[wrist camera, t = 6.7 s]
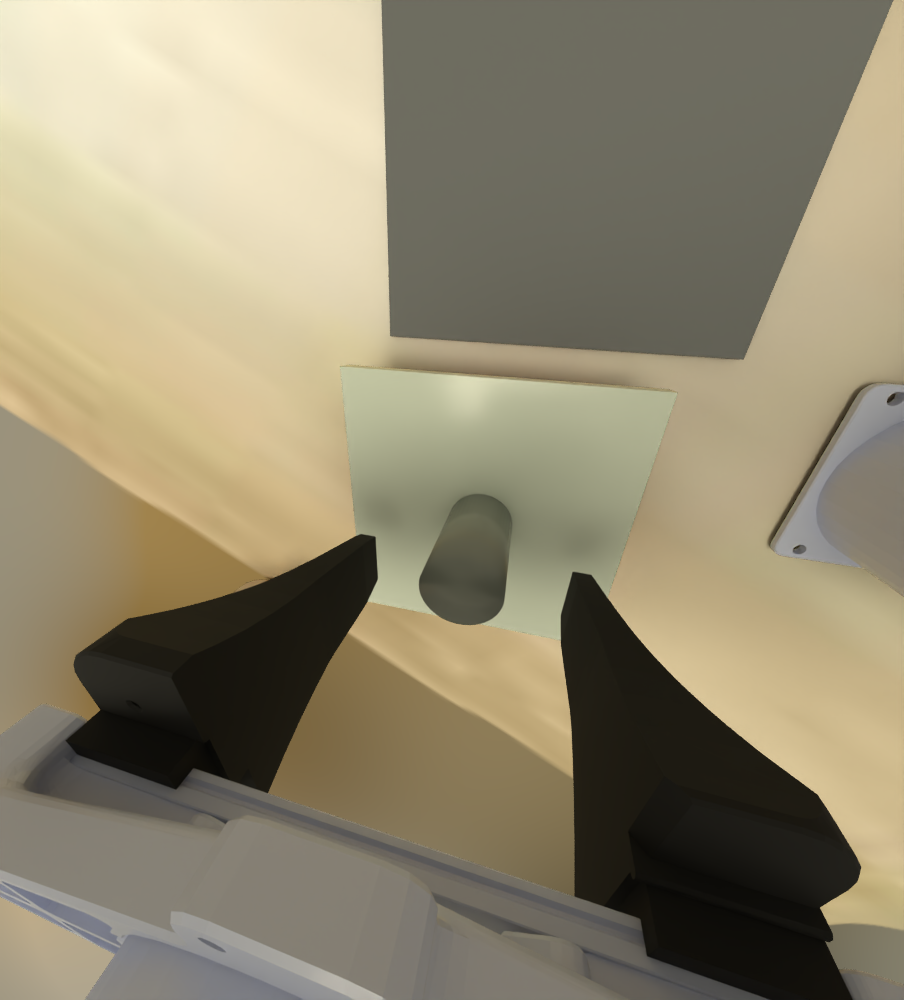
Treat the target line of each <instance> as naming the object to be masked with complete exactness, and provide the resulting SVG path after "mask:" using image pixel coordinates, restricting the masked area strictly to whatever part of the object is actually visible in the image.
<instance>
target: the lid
mask: <svg viewBox="0 0 904 1000" xmlns="http://www.w3.org/2000/svg"><path fill="white" fill-rule="evenodd" d="M340 371H341V382H342V392H343V402H344V413H345V423H346V434H347V444H348V454H349V465H350V475H351V486H352V496H353V507H354V517H355V527H356V536H357V535H359V534H364V535H370V536H375V537H376V553H377V570H378V580H377V583H376V585H375V587H374V589H373V591H372V593H371V595H370V598H369V600H368V602H373V603H378V604H383V605H388V606H393V607H398V608H403V609H408V610H413V611H418V612H423V613H428V614H432V615H437V616H439V617H441V618H443V619H445V620H447V621H450V622H453V623H456V624H462V625H476V624H482V625H487V626H491V627H496V628H501V629H506V630H511V631H516V632H521V633H526V634H531V635H536V636H541V637H546V638H551V639H555V640H560V641H561V612H562V608H563V605H564V601H565V598H566V594H567V590H568V587H569V583H570V579H571V576H572V572H579V573H585V574H590V575H592V576H593V578H594V579H595V580H596V582H597V583H598V585H599V586H600V588H601V589H602V591H603V592H604V593H605V595H606V596H607V598H608V595H609V592H610V589H611V586H612V583H613V580H614V577H615V575H616V572H617V569H618V566H619V563H620V560H621V557H622V554H623V551H624V548H625V545H626V542H627V540H628V537H629V534H630V531H631V528H632V525H633V522H634V519H635V516H636V513H637V510H638V508H639V505H640V502H641V499H642V496H643V493H644V490H645V487H646V484H647V481H648V478H649V475H650V473H651V470H652V467H653V464H654V461H655V458H656V455H657V452H658V449H659V446H660V443H661V440H662V438H663V435H664V432H665V429H666V426H667V423H668V420H669V417H670V414H671V411H672V408H673V406H674V403H675V400H676V397H677V394H678V393H677V392H675V391H672V390H670V389H659V388H646V387H633V386H620V385H607V384H594V383H581V382H568V381H555V380H542V379H529V378H516V377H503V376H490V375H477V374H464V373H451V372H438V371H425V370H412V369H399V368H386V367H372V366H359V365H346V366H340Z"/></svg>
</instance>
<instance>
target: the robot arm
mask: <svg viewBox="0 0 904 1000" xmlns="http://www.w3.org/2000/svg"><path fill="white" fill-rule="evenodd" d="M894 393H895V394H896V395H895V398H894V399H893V400H892V401H891V402H889V403H887V399H888V397H889V396H890V395H892V394H894ZM798 545H800V547H799V548H797V549H794V550H793V548H794V547H795V546H798ZM770 547H771V549H772V550H773V551H774V552H775V553H776V554H778V555H781V556H786V557H793V558H800V559H806V560H813V561H819V562H826V563H833V564H839V565H846V566H852V567H859V568H864V569H865V570H867V571H868V572H870V573H871V574H872V575H874V576H875V577H877V578H878V579H879V580H881V581H882V582H884V583H885V584H886V585H888V586H889V587H891V588H892V589H894V590H895V591H896V592H898V593H899V594H901V595H902V596H903V597H904V385H902V384H888V383H875V384H872V385H869V386H867V387H865V388H864V389H863V390H861V391H860V393H859V394H858V395H857V397H856V398H855V400H854V402H853V404H852V405H851V407H850V409H849V410H848V412H847V414H846V416H845V417H844V419H843V421H842V422H841V424H840V426H839V427H838V429H837V431H836V433H835V434H834V436H833V438H832V439H831V441H830V443H829V444H828V446H827V448H826V450H825V451H824V453H823V455H822V456H821V458H820V460H819V462H818V463H817V465H816V467H815V468H814V470H813V472H812V473H811V475H810V477H809V479H808V480H807V482H806V484H805V485H804V487H803V489H802V491H801V492H800V494H799V496H798V497H797V499H796V501H795V502H794V504H793V506H792V508H791V509H790V511H789V513H788V514H787V516H786V518H785V520H784V521H783V523H782V525H781V526H780V528H779V530H778V531H777V533H776V535H775V537H774V538H773V540H772V542H771V545H770ZM377 580H378V570H377V553H376V537H375V536H370V535H364V534H359V535H357V536H355V537H353V538H351V539H350V540H348V541H346V542H344V543H342V544H340V545H339V546H337V547H335V548H333V549H331V550H330V551H328V552H326V553H324V554H322V555H320V556H318V557H317V558H315V559H313V560H311V561H309V562H307V563H305V564H303V565H301V566H299V567H297V568H295V569H293V570H291V571H288V572H286V573H284V574H282V575H280V576H277V577H275V578H273V579H270V580H268V581H265V582H263V583H260V584H258V585H255V586H252V587H249V588H246V589H243V590H240V591H237V592H234V593H231V594H228V595H225V596H223V597H219V598H216V599H213V600H209V601H206V602H202V603H198V604H194V605H190V606H186V607H182V608H178V609H174V610H169V611H165V612H159V613H154V614H150V615H145V616H140V617H135V618H129V619H127V620H125V621H124V622H122V623H121V624H119V625H118V626H117V627H115V628H114V629H112V630H111V631H110V632H108V633H107V634H105V635H104V636H102V637H101V638H100V639H98V640H97V641H95V642H94V643H93V644H91V645H90V646H88V647H87V648H85V649H84V650H83V651H81V652H80V653H79V654H77V655H76V657H75V661H74V668H75V673H76V674H77V676H78V678H79V680H80V681H81V683H82V684H83V686H84V687H85V688H86V690H87V691H88V693H89V694H90V695H91V697H92V698H93V699H94V701H95V703H96V704H97V705H98V707H99V708H100V711H99V712H98V713H97V714H96V715H95V716H93V717H92V718H91V719H90V720H89V721H87V720H86V719H84V718H83V717H82V716H80V715H78V714H76V713H73V712H70V711H67V710H64V709H61V708H58V707H55V706H52V705H48V704H42V705H39V706H38V707H37V708H35V709H34V710H33V711H31V712H30V713H29V714H28V715H26V716H25V717H24V718H22V719H21V720H19V721H18V722H17V723H15V724H14V725H13V726H11V727H10V728H9V729H7V730H6V731H5V732H3V733H2V734H1V735H0V897H1V898H3V899H6V900H8V901H10V902H12V903H14V904H16V905H18V906H20V907H22V908H24V909H26V910H28V911H30V912H32V913H34V914H36V915H38V916H40V917H42V918H44V919H46V920H48V921H50V922H52V923H54V924H56V925H58V926H60V927H62V928H64V929H66V930H68V931H70V932H72V933H74V934H76V935H78V936H80V937H82V938H84V939H86V940H88V941H90V942H92V943H94V944H96V945H98V946H100V947H102V948H104V949H106V950H108V951H109V952H111V953H113V954H115V956H114V957H113V959H112V960H111V962H110V963H109V965H108V966H107V968H106V969H105V971H104V972H103V973H102V975H101V976H100V978H99V979H98V981H97V982H96V984H95V985H94V987H93V988H92V990H91V991H90V993H89V994H88V996H87V997H86V999H85V1000H904V984H901V983H898V982H895V981H892V980H889V979H886V978H883V977H880V976H877V975H874V974H870V973H867V972H862V971H859V970H852V969H839V970H838V968H837V965H836V963H835V961H834V959H833V957H832V955H831V953H830V951H829V949H828V947H827V945H826V942H830V941H832V940H833V934H832V931H831V929H830V927H829V925H828V923H827V921H826V919H825V917H824V915H823V913H822V911H821V909H820V907H821V906H823V905H824V904H826V903H828V902H829V901H831V900H833V899H834V898H836V897H838V896H839V895H841V894H843V893H844V892H846V891H848V890H849V889H850V888H851V887H852V886H853V885H854V884H856V883H857V881H858V878H859V875H860V870H861V866H860V864H859V861H858V859H857V857H856V855H855V854H854V852H853V850H852V849H851V847H850V845H849V844H848V842H847V840H846V839H845V837H844V835H843V834H842V832H841V831H840V829H839V827H838V826H837V824H836V822H835V821H834V819H833V818H832V816H831V814H830V813H829V811H828V810H827V808H826V807H825V805H824V804H823V802H822V801H821V799H820V798H819V796H818V795H817V794H816V793H814V792H813V791H812V790H810V789H809V788H808V787H806V786H805V785H804V784H802V783H801V782H800V781H798V780H797V779H795V778H794V777H793V776H791V775H790V774H789V773H787V772H786V771H785V770H783V769H782V768H781V767H779V766H778V765H777V764H775V763H774V762H773V761H771V760H770V759H768V758H767V757H766V756H764V755H763V754H762V753H760V752H759V751H758V750H757V749H755V748H754V747H753V746H752V745H750V744H749V743H748V742H747V741H746V740H744V739H743V738H742V737H741V736H739V735H738V734H737V733H736V732H734V731H733V730H732V729H731V728H729V727H728V726H727V725H726V724H725V723H724V722H722V721H721V720H720V719H719V718H718V717H717V716H715V715H714V714H713V713H712V712H711V711H710V710H708V709H707V708H706V707H705V706H704V705H703V704H702V703H701V702H700V701H699V700H697V699H696V698H695V697H694V696H693V695H692V694H691V693H690V692H689V691H688V690H687V689H686V688H684V687H683V686H682V685H681V684H680V683H679V682H678V681H677V680H676V679H675V678H674V677H673V676H672V675H671V674H670V673H669V672H668V671H667V670H666V668H665V667H664V666H663V665H662V664H661V663H660V662H659V661H658V660H657V659H656V658H655V657H654V656H653V655H652V654H651V653H650V651H649V650H648V649H647V648H646V647H645V646H644V644H643V643H642V642H641V641H640V640H639V639H638V637H637V636H636V635H635V634H634V633H633V631H632V630H631V629H630V628H629V626H628V625H627V624H626V622H625V621H624V620H623V618H622V617H621V616H620V614H619V613H618V612H617V610H616V609H615V608H614V606H613V605H612V603H611V602H610V601H609V599H608V598H607V596H606V595H605V593H604V592H603V591H602V589H601V588H600V586H599V585H598V583H597V582H596V580H595V579H594V578H593V576H592V575H590V574H585V573H579V572H572V576H571V579H570V583H569V587H568V590H567V594H566V598H565V601H564V605H563V608H562V612H561V648H562V656H563V663H564V671H565V678H566V685H567V692H568V699H569V707H570V716H571V727H572V750H573V780H574V833H575V897H574V896H571V895H568V894H565V893H562V892H559V891H556V890H553V889H550V888H547V887H544V886H541V885H538V884H535V883H532V882H529V881H527V880H524V879H521V878H518V877H515V876H512V875H509V874H506V873H503V872H500V871H497V870H494V869H491V868H488V867H485V866H482V865H479V864H476V863H473V862H470V861H467V860H464V859H461V858H458V857H455V856H452V855H449V854H446V853H443V852H440V851H437V850H434V849H432V848H429V847H426V846H423V845H419V844H417V843H414V842H411V841H408V840H405V839H402V838H399V837H396V836H393V835H390V834H387V833H384V832H381V831H378V830H375V829H372V828H369V827H366V826H363V825H360V824H357V823H354V822H351V821H349V820H346V819H343V818H339V817H337V816H334V815H330V814H328V813H325V812H322V811H319V810H316V809H313V808H310V807H307V806H304V805H301V804H298V803H295V802H292V801H289V800H286V799H283V798H280V797H277V796H274V795H271V794H268V791H269V789H270V787H271V785H272V782H273V780H274V777H275V775H276V773H277V770H278V768H279V766H280V763H281V761H282V758H283V756H284V754H285V752H286V750H287V747H288V745H289V743H290V741H291V739H292V736H293V734H294V732H295V730H296V728H297V725H298V723H299V721H300V719H301V716H302V715H303V713H304V711H305V709H306V706H307V704H308V702H309V700H310V698H311V696H312V694H313V692H314V690H315V688H316V686H317V684H318V682H319V680H320V678H321V677H322V675H323V673H324V671H325V669H326V667H327V665H328V663H329V661H330V660H331V658H332V656H333V655H334V653H335V651H336V650H337V648H338V647H339V645H340V644H341V642H342V641H343V639H344V637H345V636H346V634H347V633H348V631H349V630H350V628H351V627H352V625H353V624H354V622H355V621H356V619H357V618H358V616H359V614H360V613H361V611H362V610H363V608H364V607H365V605H366V603H367V602H368V600H369V598H370V595H371V593H372V591H373V589H374V587H375V585H376V583H377ZM825 941H826V942H825Z"/></svg>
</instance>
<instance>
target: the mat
mask: <svg viewBox="0 0 904 1000" xmlns="http://www.w3.org/2000/svg"><path fill="white" fill-rule="evenodd" d="M892 2H893V0H382V36H383V74H384V112H385V150H386V188H387V226H388V264H389V302H390V336H396V337H411V338H426V339H441V340H456V341H471V342H486V343H501V344H516V345H531V346H546V347H561V348H576V349H591V350H606V351H621V352H637V353H652V354H667V355H682V356H697V357H712V358H727V359H742V360H744V357H745V355H746V352H747V350H748V348H749V345H750V343H751V340H752V338H753V336H754V333H755V331H756V328H757V326H758V324H759V321H760V319H761V316H762V314H763V312H764V309H765V307H766V304H767V302H768V300H769V297H770V295H771V292H772V290H773V288H774V285H775V283H776V280H777V278H778V276H779V273H780V271H781V268H782V266H783V264H784V261H785V259H786V256H787V254H788V252H789V249H790V247H791V244H792V242H793V240H794V237H795V235H796V232H797V230H798V228H799V225H800V223H801V220H802V218H803V216H804V213H805V211H806V208H807V206H808V204H809V201H810V199H811V196H812V194H813V192H814V189H815V187H816V184H817V182H818V180H819V177H820V175H821V172H822V170H823V168H824V165H825V163H826V160H827V158H828V156H829V153H830V151H831V148H832V146H833V144H834V141H835V139H836V136H837V134H838V132H839V129H840V127H841V124H842V122H843V120H844V117H845V115H846V112H847V110H848V108H849V105H850V103H851V101H852V98H853V96H854V93H855V91H856V89H857V86H858V84H859V81H860V79H861V77H862V74H863V72H864V69H865V67H866V65H867V62H868V60H869V57H870V55H871V53H872V50H873V48H874V45H875V43H876V41H877V38H878V36H879V33H880V31H881V29H882V26H883V24H884V21H885V19H886V17H887V14H888V12H889V9H890V7H891V5H892Z"/></svg>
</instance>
